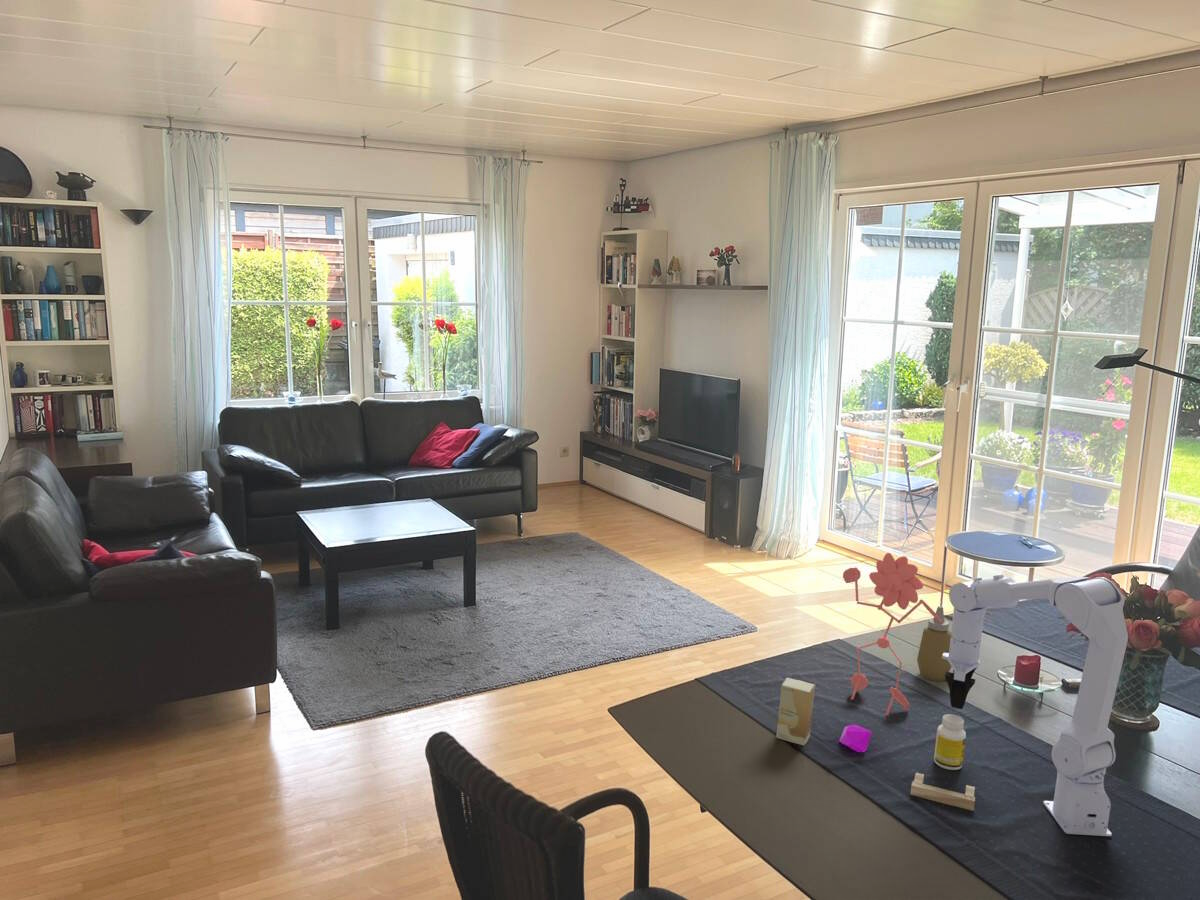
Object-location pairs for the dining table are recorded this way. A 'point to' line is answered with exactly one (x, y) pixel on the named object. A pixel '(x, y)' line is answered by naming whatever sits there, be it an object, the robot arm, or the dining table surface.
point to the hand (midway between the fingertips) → (958, 699)
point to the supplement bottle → (950, 742)
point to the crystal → (855, 737)
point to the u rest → (943, 794)
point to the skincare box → (795, 711)
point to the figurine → (894, 586)
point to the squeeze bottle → (934, 648)
